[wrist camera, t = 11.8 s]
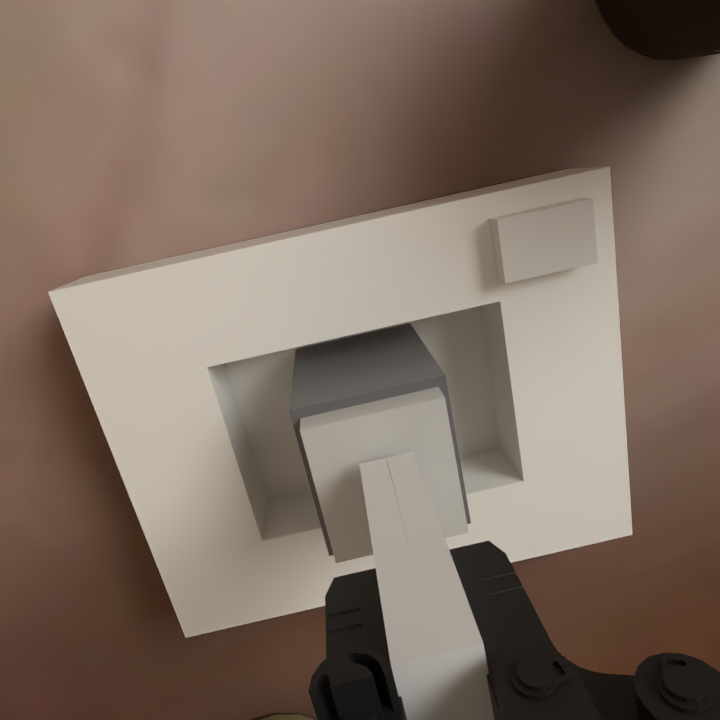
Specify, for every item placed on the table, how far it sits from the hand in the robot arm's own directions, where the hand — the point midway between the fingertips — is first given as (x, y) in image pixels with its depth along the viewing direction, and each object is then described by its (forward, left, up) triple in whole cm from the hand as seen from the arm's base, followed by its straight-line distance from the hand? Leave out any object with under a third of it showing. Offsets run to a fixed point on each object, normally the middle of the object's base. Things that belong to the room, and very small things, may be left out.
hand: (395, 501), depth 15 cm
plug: (0, 0, -7) cm, 7 cm away
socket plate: (0, 0, -8) cm, 8 cm away
